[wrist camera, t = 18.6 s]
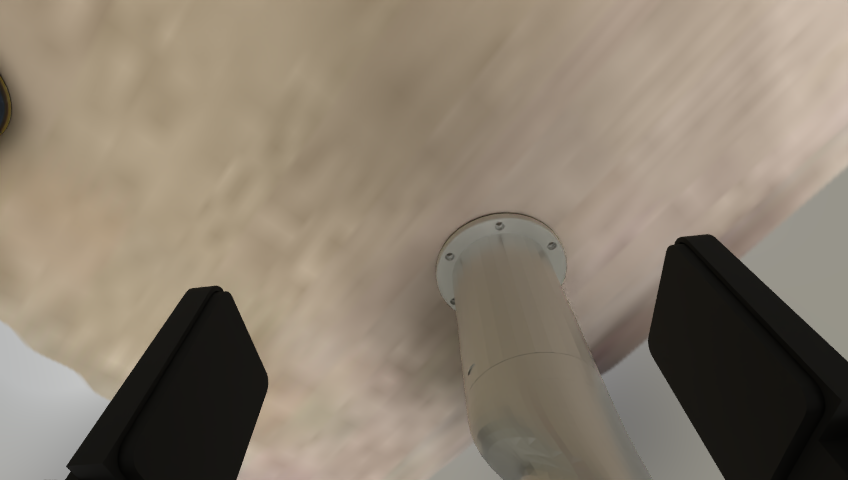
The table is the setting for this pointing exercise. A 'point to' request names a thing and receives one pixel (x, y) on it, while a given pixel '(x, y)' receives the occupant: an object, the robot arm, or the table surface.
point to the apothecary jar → (4, 106)
